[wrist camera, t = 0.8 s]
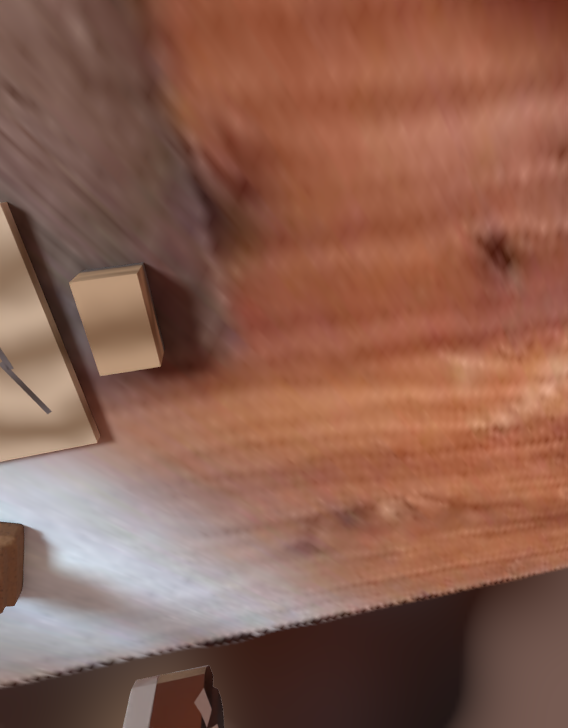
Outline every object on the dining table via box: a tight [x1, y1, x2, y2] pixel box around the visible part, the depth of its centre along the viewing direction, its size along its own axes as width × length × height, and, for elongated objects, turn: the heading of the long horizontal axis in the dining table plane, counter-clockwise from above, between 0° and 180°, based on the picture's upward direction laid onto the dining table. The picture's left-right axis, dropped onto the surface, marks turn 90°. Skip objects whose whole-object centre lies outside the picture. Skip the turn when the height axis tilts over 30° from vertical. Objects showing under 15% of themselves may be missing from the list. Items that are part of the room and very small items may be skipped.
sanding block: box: [69, 262, 165, 376], centre depth 36 cm, size 8×5×4 cm, turn 6°
